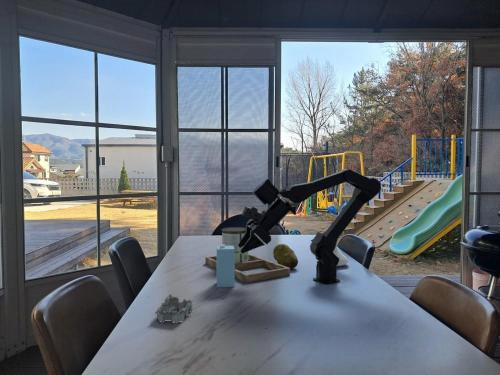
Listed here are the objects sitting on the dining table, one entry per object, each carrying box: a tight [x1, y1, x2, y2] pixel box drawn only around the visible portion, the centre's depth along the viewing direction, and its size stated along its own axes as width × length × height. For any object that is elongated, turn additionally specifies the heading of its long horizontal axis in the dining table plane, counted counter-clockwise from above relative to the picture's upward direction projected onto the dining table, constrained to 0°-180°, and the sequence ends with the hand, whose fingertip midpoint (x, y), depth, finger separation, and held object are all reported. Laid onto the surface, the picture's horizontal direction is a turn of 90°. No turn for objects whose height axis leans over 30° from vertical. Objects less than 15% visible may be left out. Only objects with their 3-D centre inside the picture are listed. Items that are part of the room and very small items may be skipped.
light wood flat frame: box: [204, 253, 291, 284], centre depth 145 cm, size 31×18×2 cm, turn 32°
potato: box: [272, 243, 299, 270], centre depth 149 cm, size 8×13×8 cm, turn 5°
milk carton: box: [216, 244, 236, 288], centre depth 126 cm, size 6×6×13 cm
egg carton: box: [154, 294, 194, 323], centre depth 99 cm, size 11×8×4 cm
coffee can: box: [221, 226, 249, 263], centre depth 152 cm, size 10×10×14 cm
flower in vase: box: [331, 200, 349, 267], centre depth 152 cm, size 13×11×25 cm
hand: (239, 249), depth 126 cm, fingers open, 9 cm apart
